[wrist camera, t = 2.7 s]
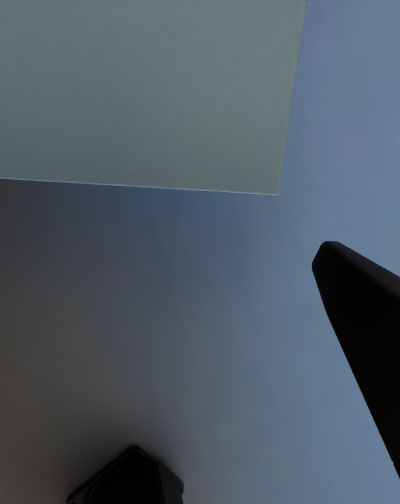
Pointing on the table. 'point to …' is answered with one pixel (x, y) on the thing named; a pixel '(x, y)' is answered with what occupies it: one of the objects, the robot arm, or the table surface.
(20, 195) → the table surface
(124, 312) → the table surface
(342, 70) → the table surface
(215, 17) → the compartment lid
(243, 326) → the table surface
